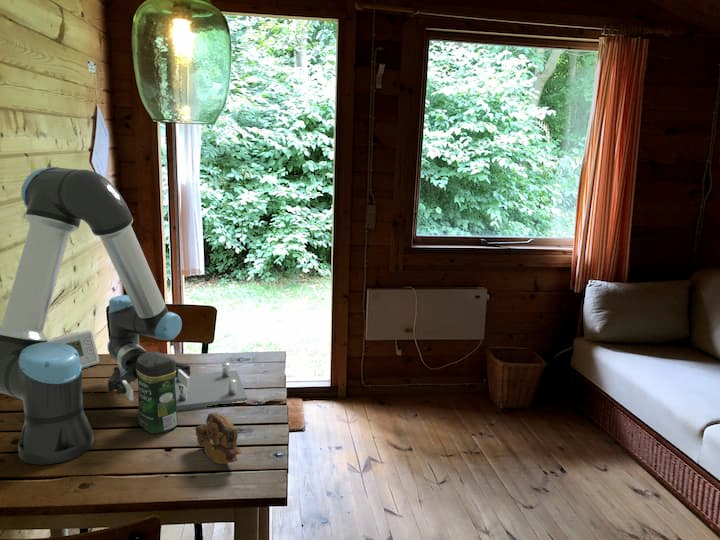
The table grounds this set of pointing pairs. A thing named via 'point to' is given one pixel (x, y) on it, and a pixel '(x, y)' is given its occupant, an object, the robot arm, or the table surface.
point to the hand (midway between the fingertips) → (160, 389)
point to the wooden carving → (218, 439)
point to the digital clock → (81, 346)
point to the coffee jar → (156, 392)
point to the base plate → (210, 389)
